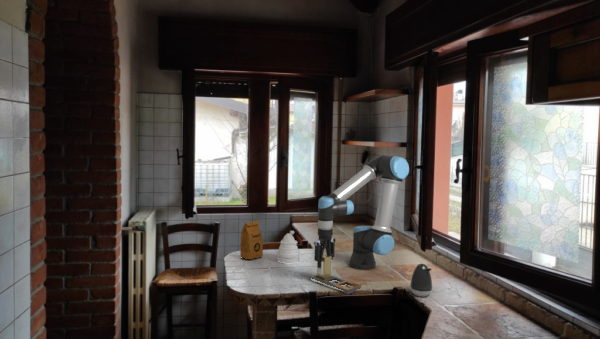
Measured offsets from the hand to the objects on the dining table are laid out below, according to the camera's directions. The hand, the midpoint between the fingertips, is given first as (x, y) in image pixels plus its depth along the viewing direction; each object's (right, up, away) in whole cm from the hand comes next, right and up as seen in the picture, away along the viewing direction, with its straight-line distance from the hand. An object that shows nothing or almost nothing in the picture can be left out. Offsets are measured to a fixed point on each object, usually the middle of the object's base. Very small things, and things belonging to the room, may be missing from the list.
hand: (324, 272), depth 238 cm
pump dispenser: (+45, -7, -16) cm, 49 cm away
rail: (+5, -5, -6) cm, 9 cm away
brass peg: (0, -3, 0) cm, 3 cm away
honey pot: (-19, -1, +34) cm, 39 cm away
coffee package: (-41, 0, +38) cm, 56 cm away
